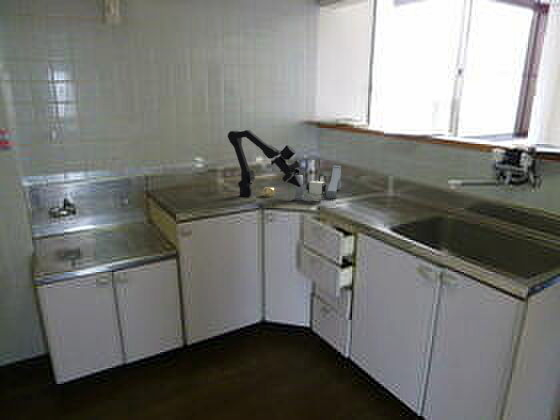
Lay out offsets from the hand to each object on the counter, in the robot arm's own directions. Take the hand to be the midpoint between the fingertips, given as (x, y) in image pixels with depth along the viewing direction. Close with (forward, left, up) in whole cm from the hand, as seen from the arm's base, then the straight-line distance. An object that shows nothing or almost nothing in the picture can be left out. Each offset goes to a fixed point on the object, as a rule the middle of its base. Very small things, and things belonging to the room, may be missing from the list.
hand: (301, 185), depth 220 cm
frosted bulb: (-1, 0, -7) cm, 7 cm away
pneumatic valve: (+9, 0, -9) cm, 13 cm away
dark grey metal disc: (-1, 0, -8) cm, 8 cm away
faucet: (+17, +22, -9) cm, 29 cm away
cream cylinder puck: (-21, +6, -8) cm, 23 cm away
